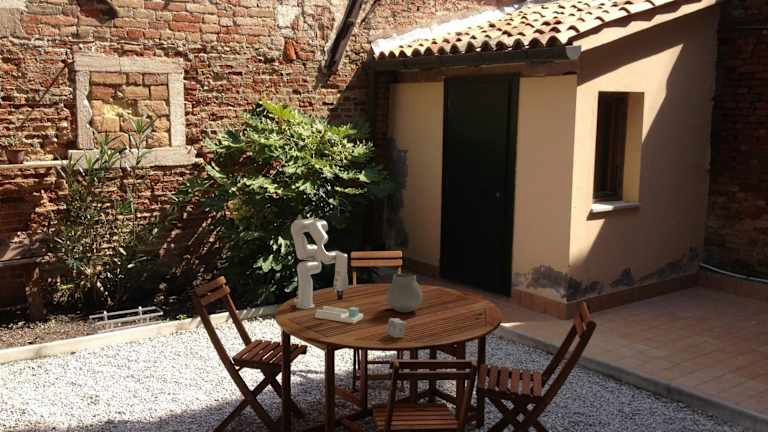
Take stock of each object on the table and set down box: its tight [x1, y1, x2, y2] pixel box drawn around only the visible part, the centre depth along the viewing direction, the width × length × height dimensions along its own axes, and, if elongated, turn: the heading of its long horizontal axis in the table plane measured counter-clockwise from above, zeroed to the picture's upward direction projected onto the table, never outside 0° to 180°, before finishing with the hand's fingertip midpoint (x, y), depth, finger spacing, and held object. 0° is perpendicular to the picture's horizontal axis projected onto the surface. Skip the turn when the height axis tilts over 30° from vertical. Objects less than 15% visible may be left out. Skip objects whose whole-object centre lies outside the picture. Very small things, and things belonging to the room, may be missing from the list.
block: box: [348, 306, 360, 317], centre depth 457 cm, size 5×5×5 cm
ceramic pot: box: [385, 273, 423, 313], centre depth 478 cm, size 24×24×25 cm
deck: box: [314, 305, 364, 324], centre depth 461 cm, size 28×14×4 cm, turn 67°
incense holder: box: [386, 317, 408, 339], centre depth 426 cm, size 10×8×10 cm
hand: (339, 299), depth 460 cm, fingers closed
